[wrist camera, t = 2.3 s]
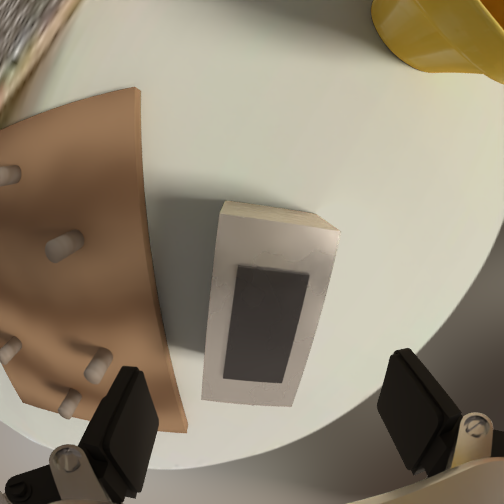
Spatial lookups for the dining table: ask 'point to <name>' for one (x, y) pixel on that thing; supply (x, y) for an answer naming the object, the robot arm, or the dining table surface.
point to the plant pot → (444, 34)
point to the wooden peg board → (80, 260)
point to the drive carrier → (265, 302)
